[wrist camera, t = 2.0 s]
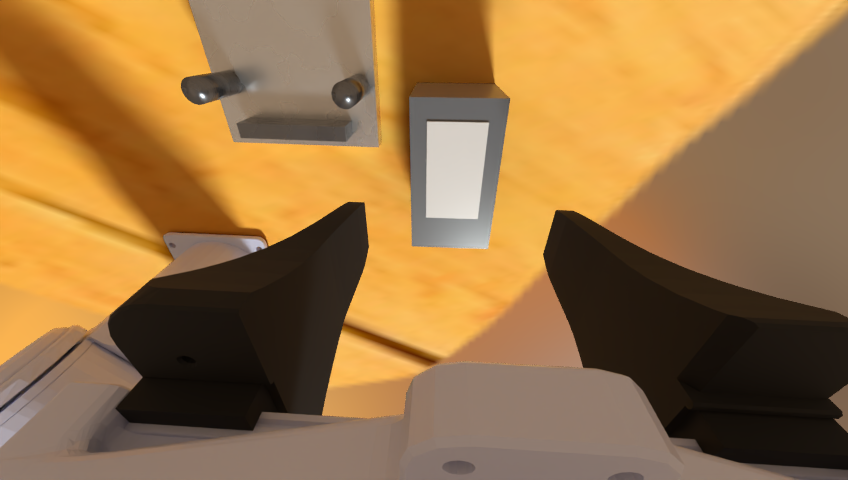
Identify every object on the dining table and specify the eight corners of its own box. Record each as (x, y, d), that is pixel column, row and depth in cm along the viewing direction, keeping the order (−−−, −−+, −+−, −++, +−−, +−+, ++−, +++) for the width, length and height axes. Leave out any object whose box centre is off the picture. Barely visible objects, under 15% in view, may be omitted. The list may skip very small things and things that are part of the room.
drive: (479, 208, 22) (488, 249, 18) (418, 206, 22) (411, 247, 18) (494, 83, 18) (510, 98, 13) (417, 82, 18) (408, 97, 14)
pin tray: (381, 142, 20) (368, 164, 16) (242, 137, 20) (202, 158, 17) (363, -185, 12) (333, -266, 9) (145, -185, 13) (39, -263, 9)
